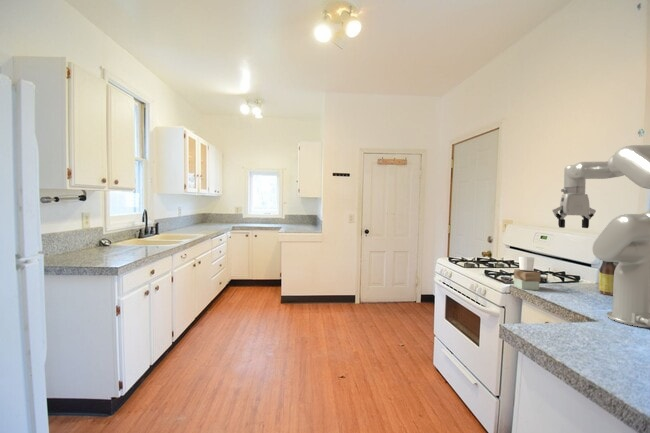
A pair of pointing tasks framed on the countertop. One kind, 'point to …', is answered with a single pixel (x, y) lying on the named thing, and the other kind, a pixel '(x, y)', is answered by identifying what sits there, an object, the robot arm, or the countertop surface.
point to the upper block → (527, 275)
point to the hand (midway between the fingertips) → (573, 227)
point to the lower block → (526, 284)
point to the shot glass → (526, 263)
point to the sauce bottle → (606, 278)
